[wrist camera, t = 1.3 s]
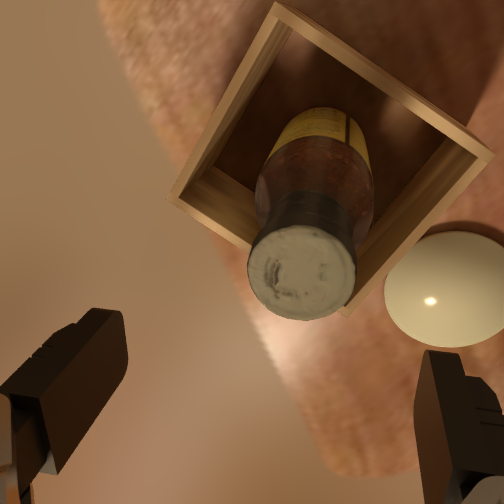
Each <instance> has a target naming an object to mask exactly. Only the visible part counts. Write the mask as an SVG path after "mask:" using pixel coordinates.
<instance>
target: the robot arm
mask: <svg viewBox="0 0 504 504" xmlns="http://www.w3.org/2000/svg"><path fill="white" fill-rule="evenodd" d="M127 365H128V352H127V344H126V336H125V328H124V321H123V316H122V313H121V312H120V311H116V310H107V309H100V308H91V309H90V310H89V311H88V312H87V313H86V314H85V315H84V316H83V317H82V318H81V319H80V320H79V321H78V322H77V323H76V324H75V323H71V324H69V325H68V326H66V327H64V328H62V329H60V330H58V331H57V332H55V333H54V334H53V335H52V336H51V337H50V338H49V339H48V340H47V341H45V342H44V344H42V347H41V348H38V349H37V350H36V352H34V353H33V354H32V357H31V358H30V357H29V358H28V359H27V360H26V361H25V362H24V363H23V364H22V365H21V367H19V368H18V369H17V370H16V371H15V372H14V373H13V374H12V375H11V376H10V377H9V378H8V379H7V380H6V381H5V382H4V383H3V384H2V385H1V386H0V504H35V503H34V490H33V485H32V481H33V479H34V478H35V477H36V475H37V474H38V472H42V473H47V474H52V475H58V474H59V472H60V471H61V469H62V468H63V467H64V465H65V464H66V462H67V461H68V459H69V458H70V456H71V454H72V453H73V452H74V450H75V449H76V447H77V446H78V444H79V443H80V441H81V440H82V439H83V437H84V436H85V434H86V433H87V431H88V430H89V428H90V427H91V425H92V424H93V422H94V421H95V419H96V418H97V416H98V415H99V413H100V412H101V410H102V409H103V408H104V406H105V405H106V403H107V402H108V400H109V399H110V397H111V396H112V394H113V393H114V391H115V390H116V388H117V387H118V386H119V384H120V383H121V381H122V380H123V378H124V375H125V373H126V370H127ZM413 417H414V429H415V436H416V443H417V451H418V458H419V465H420V472H421V479H422V486H423V494H424V501H425V504H504V415H502V409H501V407H500V404H499V401H498V399H497V396H496V394H495V393H494V391H493V390H492V389H491V388H490V387H489V386H488V385H487V384H486V383H485V382H484V381H483V380H482V378H480V377H472V376H465V372H464V369H463V366H462V363H461V359H460V356H459V354H457V353H450V352H442V351H433V350H425V352H424V355H423V359H422V364H421V369H420V374H419V379H418V384H417V389H416V394H415V400H414V413H413Z"/></svg>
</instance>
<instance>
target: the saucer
mask: <svg viewBox="0 0 504 504" xmlns="http://www.w3.org/2000/svg"><path fill="white" fill-rule="evenodd" d="M384 295H385V303H386V307H387V310H388V312H389V314H390V316H391V318H392V319H393V321H394V322H395V323H396V325H397V326H398V327H399V328H400V329H401V330H402V331H403V332H405V333H406V334H408V335H409V336H410V337H412V338H414V339H416V340H418V341H421V342H423V343H426V344H429V345H433V346H439V347H461V346H468V345H472V344H476V343H478V342H481V341H484V340H486V339H488V338H490V337H492V336H493V335H495V334H497V333H498V332H499V331H501V330H502V329H503V328H504V247H503V246H501V245H500V244H499V243H497V242H496V241H494V240H492V239H491V238H489V237H486V236H484V235H481V234H477V233H474V232H468V231H443V232H439V233H434V234H431V235H428V236H425V237H423V238H421V239H419V240H418V241H417V242H416V243H415V244H414V245H413V247H412V248H411V249H410V250H409V251H408V252H407V253H406V254H405V255H404V257H403V258H402V259H401V260H400V261H399V262H398V263H397V264H396V265H395V266H394V268H393V269H392V270H391V271H390V272H389V273H388V274H387V275H386V279H385V284H384Z"/></svg>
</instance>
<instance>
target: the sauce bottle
mask: <svg viewBox="0 0 504 504" xmlns="http://www.w3.org/2000/svg"><path fill="white" fill-rule="evenodd" d="M373 191H374V185H373V178H372V173H371V168H370V163H369V156H368V151H367V146H366V141H365V137H364V135H363V132H362V130H361V129H360V127H359V126H358V124H357V123H356V122H355V121H354V120H353V119H352V118H351V117H350V116H349V115H348V114H347V113H346V112H344V111H342V110H339V109H336V108H331V107H316V108H314V107H313V108H310V109H307V110H305V111H304V112H303V113H301V114H299V115H297V116H296V117H294V118H293V119H292V120H291V121H290V122H289V123H288V124H287V125H286V127H285V128H284V129H283V131H282V133H281V134H280V136H279V138H278V140H277V142H276V144H275V146H274V148H273V149H272V151H271V153H270V155H269V157H268V158H267V160H266V162H265V164H264V166H263V168H262V170H261V172H260V175H259V178H258V181H257V185H256V191H255V210H256V215H257V219H258V222H259V224H260V226H261V228H262V229H261V230H260V231H259V233H258V235H257V237H256V238H255V239H254V241H253V244H252V247H251V251H250V254H249V258H248V262H247V272H248V278H249V282H250V285H251V288H252V290H253V292H254V293H255V295H256V297H257V298H258V300H259V301H260V302H261V303H262V304H263V305H265V307H266V308H267V309H268V310H270V311H272V312H273V313H275V314H277V315H279V316H281V317H284V318H287V319H294V320H303V321H309V320H314V319H319V318H322V317H326V316H328V315H331V314H333V313H334V312H336V311H337V310H338V309H339V308H341V307H342V306H344V305H345V304H346V302H347V301H348V300H349V298H350V296H351V295H352V293H353V290H354V287H355V284H356V278H357V256H356V250H358V249H359V248H360V247H361V245H362V244H363V242H364V240H365V237H366V235H367V232H368V230H369V228H370V225H371V222H372V219H373V214H374V194H373Z"/></svg>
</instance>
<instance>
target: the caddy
mask: <svg viewBox="0 0 504 504" xmlns="http://www.w3.org/2000/svg"><path fill="white" fill-rule="evenodd" d="M293 29H294V30H295V31H297V32H298V33H299V34H301V35H302V36H304V37H305V38H307V39H308V40H309V41H311V42H312V43H314V44H315V45H317V46H318V47H320V48H321V49H322V50H324V51H325V52H327V53H328V54H330V55H331V56H333V57H334V58H335V59H337V60H338V61H340V62H341V63H343V64H344V65H346V66H347V67H348V68H350V69H351V70H353V71H354V72H356V73H357V74H359V75H360V76H361V77H363V78H364V79H366V80H367V81H369V82H370V83H371V84H373V85H374V86H376V87H377V88H379V89H380V90H382V91H383V92H384V93H386V94H387V95H389V96H390V97H392V98H393V99H395V100H396V101H397V102H399V103H400V104H402V105H403V106H405V107H406V108H408V109H409V110H410V111H412V112H413V113H415V114H416V115H418V116H419V117H421V118H422V119H423V120H425V121H426V122H428V123H429V124H431V125H432V126H434V127H435V128H436V129H438V130H439V131H441V132H442V133H444V134H445V135H446V136H447V137H446V139H445V140H444V141H443V142H442V143H441V145H440V146H439V147H438V148H437V149H436V151H435V152H434V153H433V154H432V155H431V157H430V158H429V159H428V160H427V162H426V163H425V164H424V165H423V166H422V168H421V169H420V170H419V171H418V172H417V174H416V175H415V176H414V177H413V178H412V180H411V181H410V182H409V183H408V184H407V186H406V187H405V188H404V189H403V190H402V192H401V193H400V194H399V195H398V196H397V198H396V199H395V200H394V201H393V202H392V204H391V205H390V206H389V207H388V208H387V210H386V211H385V212H384V213H383V214H382V216H381V217H380V218H379V219H378V220H377V222H376V223H375V224H374V225H373V226H372V228H371V229H370V230H369V231H368V232H367V235H366V237H365V240H364V242H363V244H362V245H361V247H360V248H359V249H358V250H356V256H357V278H356V284H355V287H354V290H353V293H352V295H351V296H350V298H349V300H348V301H347V302H346V304H345V305H344V306H342V307H341V308H339V309H338V310H337V312H338V313H340V314H341V315H343V316H345V317H346V318H348V317H349V316H350V315H351V314H352V313H353V312H354V311H355V309H356V308H357V307H358V306H359V305H360V304H361V303H362V302H363V301H364V300H365V298H366V297H367V296H368V295H369V294H370V293H371V292H372V291H373V290H374V289H375V287H376V286H377V285H378V284H379V283H380V282H381V281H382V280H383V279H384V277H385V276H386V275H387V274H388V273H389V272H390V271H391V270H392V269H393V268H394V266H395V265H396V264H397V263H398V262H399V261H400V260H401V259H402V258H403V257H404V255H405V254H406V253H407V252H408V251H409V250H410V249H411V248H412V247H413V245H414V244H415V243H416V242H417V241H418V240H419V239H420V238H421V237H422V236H423V234H424V233H425V232H426V231H427V230H428V229H429V228H430V227H431V226H432V225H433V223H434V222H435V221H436V220H437V219H438V218H439V217H440V216H441V215H442V213H443V212H444V211H445V210H446V209H447V208H448V207H449V206H450V205H451V204H452V202H453V201H454V200H455V199H456V198H457V197H458V196H459V195H460V194H461V193H462V191H463V190H464V189H465V188H466V187H467V186H468V185H469V184H470V183H471V181H472V180H473V179H474V178H475V177H476V176H477V175H478V174H479V173H480V172H481V170H482V169H483V168H484V167H485V166H486V165H487V164H488V163H489V162H490V161H491V159H492V158H493V157H494V156H495V155H496V154H495V153H493V152H492V151H491V150H490V149H489V148H488V147H487V146H486V145H485V144H484V143H483V142H482V141H480V140H479V139H478V138H477V137H476V136H475V135H474V134H473V133H472V132H471V131H470V130H469V129H467V128H466V127H465V126H464V125H462V124H461V123H459V122H458V121H456V120H455V119H454V118H452V117H451V116H449V115H448V114H446V113H445V112H443V111H442V110H441V109H439V108H438V107H436V106H435V105H433V104H432V103H431V102H429V101H428V100H426V99H425V98H423V97H422V96H421V95H419V94H418V93H416V92H415V91H413V90H412V89H410V88H409V87H408V86H406V85H405V84H403V83H402V82H400V81H399V80H398V79H396V78H395V77H393V76H392V75H390V74H389V73H388V72H386V71H385V70H383V69H382V68H380V67H379V66H377V65H376V64H375V63H373V62H372V61H370V60H369V59H367V58H366V57H365V56H363V55H362V54H360V53H359V52H357V51H356V50H354V49H353V48H352V47H350V46H349V45H347V44H346V43H344V42H343V41H342V40H340V39H339V38H337V37H336V36H334V35H333V34H332V33H330V32H329V31H327V30H326V29H324V28H323V27H321V26H320V25H319V24H317V23H316V22H314V21H313V20H311V19H310V18H309V17H307V16H306V15H304V14H303V13H301V12H300V11H299V10H297V9H296V8H294V7H291V6H288V5H285V4H282V3H279V2H276V1H275V2H274V4H273V6H272V7H271V9H270V11H269V13H268V15H267V17H266V18H265V20H264V22H263V24H262V26H261V27H260V29H259V31H258V33H257V35H256V37H255V38H254V40H253V42H252V44H251V46H250V47H249V49H248V51H247V53H246V55H245V57H244V58H243V60H242V62H241V64H240V66H239V68H238V69H237V71H236V73H235V75H234V77H233V78H232V80H231V82H230V84H229V86H228V88H227V89H226V91H225V93H224V95H223V97H222V98H221V100H220V102H219V104H218V106H217V108H216V109H215V111H214V113H213V115H212V117H211V119H210V120H209V122H208V124H207V126H206V128H205V129H204V131H203V133H202V135H201V137H200V139H199V140H198V142H197V144H196V146H195V148H194V149H193V151H192V153H191V155H190V157H189V159H188V160H187V162H186V164H185V166H184V168H183V170H182V171H181V173H180V175H179V177H178V179H177V180H176V182H175V184H174V186H173V188H172V190H171V192H170V193H169V195H168V197H167V199H166V200H167V201H169V202H170V203H172V204H173V205H175V206H176V207H178V208H179V209H181V210H182V211H184V212H186V213H187V214H189V215H190V216H192V217H194V218H195V219H196V220H198V221H199V222H201V223H202V224H204V225H205V226H207V227H208V228H210V229H211V230H213V231H215V232H216V233H218V234H219V235H221V236H222V237H224V238H225V239H227V240H228V241H230V242H231V243H233V244H234V245H236V246H237V247H239V248H241V249H242V250H244V251H245V252H247V253H248V254H250V251H251V247H252V244H253V241H254V239H255V238H256V237H257V235H258V233H259V231H260V230H261V229H262V228H261V226H260V224H259V222H258V219H257V215H256V210H255V193H254V192H252V191H251V190H249V189H248V188H246V187H245V186H243V185H242V184H240V183H239V182H237V181H236V180H234V179H233V178H231V177H230V176H228V175H227V174H225V173H224V172H222V171H221V170H219V169H218V168H216V167H215V166H213V165H214V164H215V162H216V160H217V158H218V157H219V155H220V153H221V152H222V150H223V148H224V146H225V145H226V143H227V141H228V140H229V138H230V136H231V134H232V133H233V131H234V129H235V128H236V126H237V124H238V122H239V121H240V119H241V117H242V116H243V114H244V112H245V110H246V109H247V107H248V105H249V104H250V102H251V100H252V98H253V97H254V95H255V93H256V92H257V90H258V88H259V86H260V85H261V83H262V81H263V80H264V78H265V76H266V74H267V73H268V71H269V69H270V68H271V66H272V64H273V62H274V61H275V59H276V57H277V56H278V54H279V52H280V50H281V49H282V47H283V45H284V44H285V42H286V40H287V38H288V37H289V35H290V33H291V31H292V30H293Z"/></svg>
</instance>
